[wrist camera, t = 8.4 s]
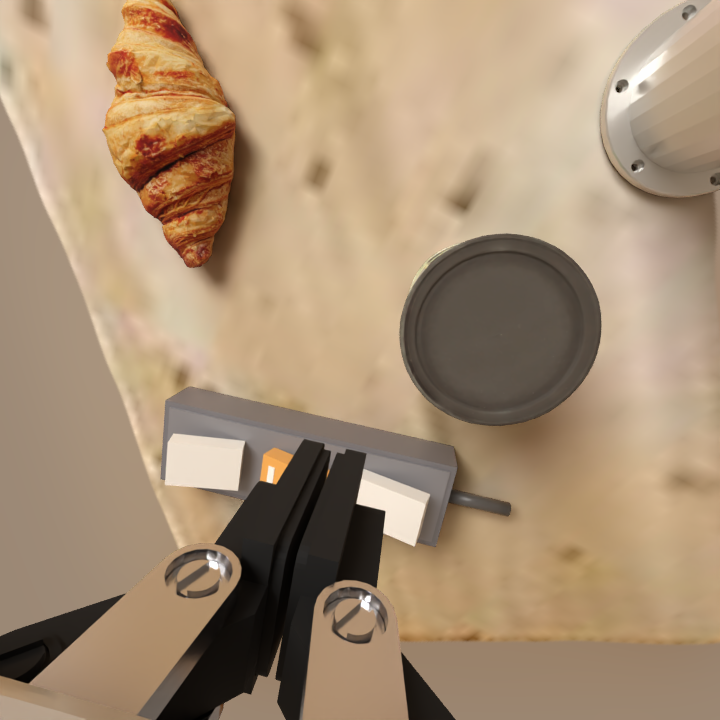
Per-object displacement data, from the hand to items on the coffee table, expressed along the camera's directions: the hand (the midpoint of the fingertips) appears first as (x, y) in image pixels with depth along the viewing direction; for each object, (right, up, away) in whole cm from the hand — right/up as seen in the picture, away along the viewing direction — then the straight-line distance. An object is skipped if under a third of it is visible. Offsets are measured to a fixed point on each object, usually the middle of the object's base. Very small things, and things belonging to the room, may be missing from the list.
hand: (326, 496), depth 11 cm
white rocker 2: (+3, -9, +24) cm, 26 cm away
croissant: (-13, +22, +25) cm, 36 cm away
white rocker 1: (-12, -5, +25) cm, 29 cm away
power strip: (-1, -6, +30) cm, 31 cm away
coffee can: (+10, +8, +25) cm, 28 cm away
